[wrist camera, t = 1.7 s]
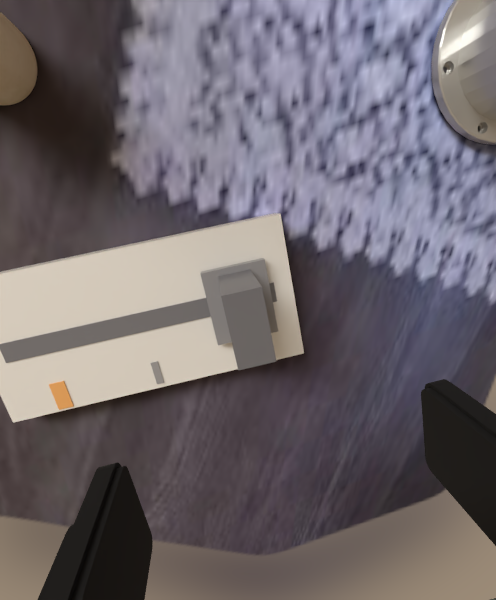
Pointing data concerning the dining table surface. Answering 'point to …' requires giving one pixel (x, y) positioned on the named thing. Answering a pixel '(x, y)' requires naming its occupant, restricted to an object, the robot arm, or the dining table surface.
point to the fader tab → (242, 310)
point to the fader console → (130, 317)
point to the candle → (15, 64)
